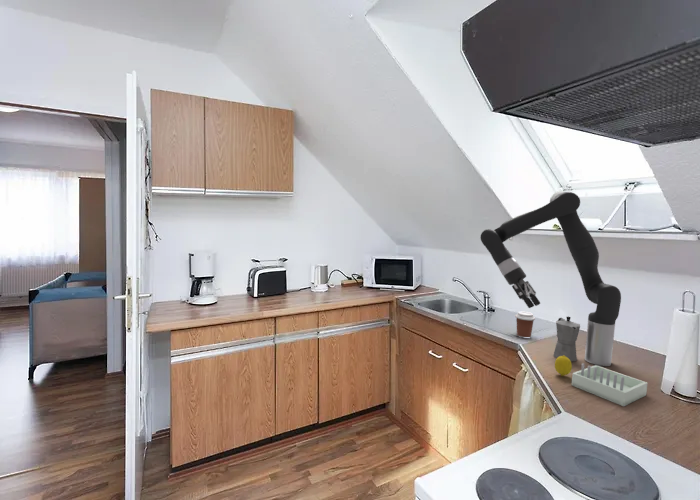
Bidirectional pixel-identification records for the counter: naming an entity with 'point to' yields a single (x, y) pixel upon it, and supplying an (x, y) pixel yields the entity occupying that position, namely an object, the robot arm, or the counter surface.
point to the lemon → (563, 365)
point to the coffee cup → (524, 323)
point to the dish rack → (609, 384)
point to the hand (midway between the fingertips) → (535, 306)
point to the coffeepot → (566, 338)
